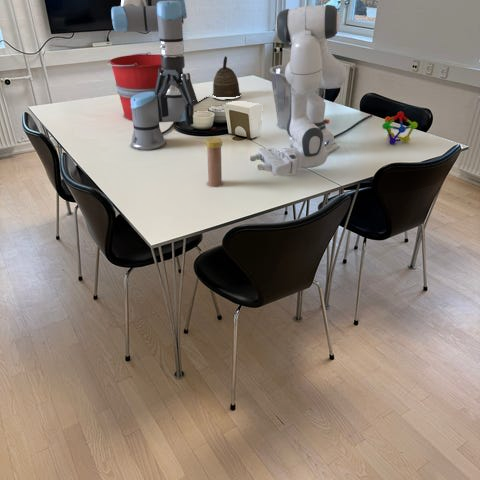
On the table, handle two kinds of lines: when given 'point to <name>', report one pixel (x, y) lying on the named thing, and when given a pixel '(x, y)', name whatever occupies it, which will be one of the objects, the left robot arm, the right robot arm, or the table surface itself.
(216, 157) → the jar
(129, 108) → the bucket
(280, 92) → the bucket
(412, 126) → the educational toy
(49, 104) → the table surface
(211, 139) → the lid
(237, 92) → the bell
